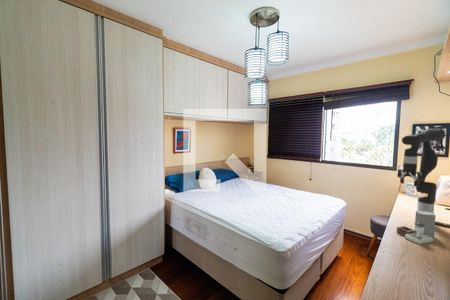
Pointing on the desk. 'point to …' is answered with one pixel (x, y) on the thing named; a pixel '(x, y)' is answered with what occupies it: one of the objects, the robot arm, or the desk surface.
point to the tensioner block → (405, 230)
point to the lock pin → (419, 231)
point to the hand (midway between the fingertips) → (408, 184)
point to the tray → (425, 240)
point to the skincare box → (426, 222)
